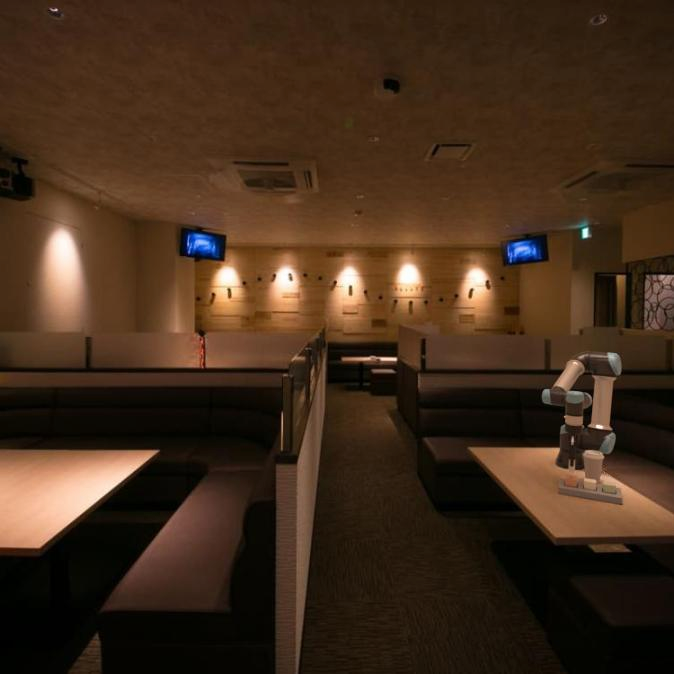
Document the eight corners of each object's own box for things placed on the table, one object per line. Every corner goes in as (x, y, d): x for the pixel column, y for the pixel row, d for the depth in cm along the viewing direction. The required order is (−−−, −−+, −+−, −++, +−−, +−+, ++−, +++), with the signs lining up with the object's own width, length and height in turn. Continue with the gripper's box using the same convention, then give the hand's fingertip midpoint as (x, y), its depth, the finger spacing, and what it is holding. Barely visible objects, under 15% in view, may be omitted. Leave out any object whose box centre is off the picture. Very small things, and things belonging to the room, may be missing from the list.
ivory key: (584, 485, 232) (584, 477, 232) (595, 486, 230) (596, 479, 230) (583, 488, 228) (584, 481, 228) (595, 490, 226) (596, 483, 225)
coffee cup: (605, 485, 241) (607, 455, 240) (584, 483, 243) (586, 454, 242) (599, 478, 250) (600, 450, 249) (579, 477, 252) (580, 449, 251)
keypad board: (560, 484, 241) (560, 478, 241) (620, 494, 229) (620, 488, 229) (558, 493, 229) (558, 487, 229) (621, 504, 217) (622, 498, 217)
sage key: (603, 488, 229) (603, 480, 228) (615, 490, 226) (615, 482, 226) (603, 491, 224) (603, 484, 224) (615, 493, 222) (615, 486, 222)
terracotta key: (565, 482, 236) (565, 474, 236) (577, 483, 234) (577, 476, 234) (565, 485, 232) (565, 478, 231) (576, 487, 229) (576, 479, 229)
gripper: (565, 420, 238) (563, 467, 240) (564, 425, 227) (562, 475, 228) (582, 422, 235) (580, 469, 236) (582, 427, 223) (579, 477, 225)
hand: (571, 472), depth 232 cm, fingers closed
